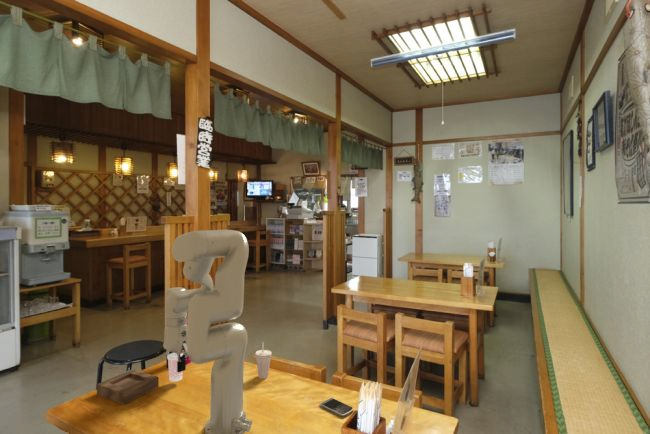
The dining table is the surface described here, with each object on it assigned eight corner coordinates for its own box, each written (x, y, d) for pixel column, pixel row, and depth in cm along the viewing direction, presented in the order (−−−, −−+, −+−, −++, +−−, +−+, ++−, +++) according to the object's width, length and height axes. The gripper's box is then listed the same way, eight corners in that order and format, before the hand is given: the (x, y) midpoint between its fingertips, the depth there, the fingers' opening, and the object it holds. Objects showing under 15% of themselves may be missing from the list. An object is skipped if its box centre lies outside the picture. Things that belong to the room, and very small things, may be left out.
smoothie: (251, 379, 148) (252, 343, 148) (259, 372, 154) (260, 338, 154) (266, 381, 146) (267, 345, 146) (273, 374, 152) (274, 340, 152)
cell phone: (343, 419, 122) (343, 415, 122) (318, 407, 129) (318, 403, 129) (355, 412, 126) (355, 408, 126) (330, 400, 134) (330, 396, 134)
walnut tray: (158, 388, 140) (158, 376, 140) (124, 405, 127) (124, 393, 127) (131, 380, 146) (132, 369, 146) (96, 396, 133) (96, 384, 133)
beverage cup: (187, 376, 145) (188, 339, 145) (178, 383, 139) (178, 345, 139) (173, 374, 146) (174, 338, 146) (163, 381, 140) (163, 343, 140)
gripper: (199, 322, 141) (198, 371, 141) (171, 315, 151) (171, 360, 151) (181, 327, 135) (180, 378, 135) (153, 319, 144) (153, 366, 145)
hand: (175, 368), depth 143 cm, fingers closed on beverage cup, 6 cm apart
